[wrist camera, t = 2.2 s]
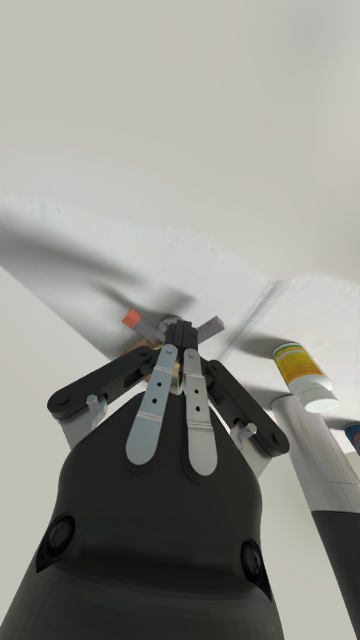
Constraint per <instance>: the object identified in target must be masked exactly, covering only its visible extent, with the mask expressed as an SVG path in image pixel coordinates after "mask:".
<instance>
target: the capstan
mask: <svg viewBox="0 0 360 640" xmlns="http://www.w3.org/2000/svg"><path fill="white" fill-rule="evenodd" d="M177 319H179V320H183V319H181V318H179V317H176V316H168V317H165V318H163V319H162V320H161V322H160V324H159V327H158V330H157V329H156V328H155V327H154V326H152V325H151V324H150V323H148V322H147V321H146V320H145V319H143V318H142V317H141V316H140V315H139V314H138V313H137V312H135V311H134V310H133V309H131V310H130V311H129V312H128V313H127V314H126V315H125V316H124V318H123V319H122V322H123V323H124V324H126V325H127V326H128V327H130V328H132V329H134V330H135V331H136V332H138V333H139V334H140V335H142V336H143V337H144V338H146V339H147V340H149V341H150V342H151V343H153V344H154V345H155V347H154V348H153V350H156V349H160V348H161V347H163V345H164V342H165V337H166V333H167V329H168V326H169V325H170V324H171V323H174V324H176V322H177ZM196 330H197V332H198V344H200V343H201V342H203V341H205V340H207V339H208V338H210V337H212V336H213V335H215V334H217V333H219V332H220V331H222V330H224V324H223V322H222V321H221V320H220V319H219V318H218V317H217V316H215V317H214V318H212V319H211V320H209V321H208V322H206V323H205V324H203V325H202V326H200V327H198V328H197V329H196ZM177 360H178V359H177ZM179 365H180V364H178V363H175V366H174V370H173V376H178V370H179Z"/></svg>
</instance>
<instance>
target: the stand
mask: <svg viewBox="0 0 360 640" xmlns="http://www.w3.org/2000/svg"><path fill="white" fill-rule="evenodd" d="M140 346H148V347H150V348H151V349H152V350H153V348H154V347H155V345H154V344H153V343H151V342H150V341H149V340H147V339H146V338H144V337H143V338H141V339H140V340H139V341H138V342H136V343H135V344H134V345H133V346H131V347H130V348H129V349H127V350H126V351H125V352H124V353H122V354H121V356H123V355H125V354H126V353H128V352H130V351H132V350H134V349H136V348H138V347H140ZM121 356H120V357H121ZM151 375H152V374H150V375H148V376H147V377H146V378H145V379H143V380H144V381H146V382H148V383H149V380H150V378H151ZM177 390H178V376H172V380H171V384H170V389H169V392H171V393H173V394H175V395H177Z"/></svg>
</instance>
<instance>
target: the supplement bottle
mask: <svg viewBox="0 0 360 640" xmlns="http://www.w3.org/2000/svg"><path fill="white" fill-rule="evenodd" d="M273 359H274V361H275V363H276V365H277V367H278V369H279V371H280V373H281V375H282V377H283V379H284V381H285V383H286V385H287V387H288V389H289V391H290V392H291V393H292V394H293V395H295V396H296V397H299V398H300V402H301V404H302V405H303V407H304V409H305V410H306V411H308V412H312V413H324V412H329V411H332V410H335V409H336V408H338V407H339V406H340V402H339V401H338V399H337V398H336V396H335V395H334V393H332V392H331V389H332V383H331V381H330V379H329V378H328V377H327V375H326V374H325V373H324V372H323V370H322V369H321V368H320V366H319V365H318V364H317V363H316V361H315V360H314V359H313V357H312V356H311V355H310V354H309V352H308V351H307V350H306V348H305V347H304V346H302V345H300V344H297V343H287V344H283V345H281V346H279V347H278V348H276V349H275V350H274V352H273Z"/></svg>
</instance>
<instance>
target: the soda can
mask: <svg viewBox="0 0 360 640" xmlns="http://www.w3.org/2000/svg"><path fill="white" fill-rule="evenodd" d="M345 435H346V436H347V438H348V439H349V441H350V442H351V444H352V445H353V447H354V448H355V450H356V451H357V453H358V454H359V456H360V423H354V424H350V425H347V426H346V427H345Z"/></svg>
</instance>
